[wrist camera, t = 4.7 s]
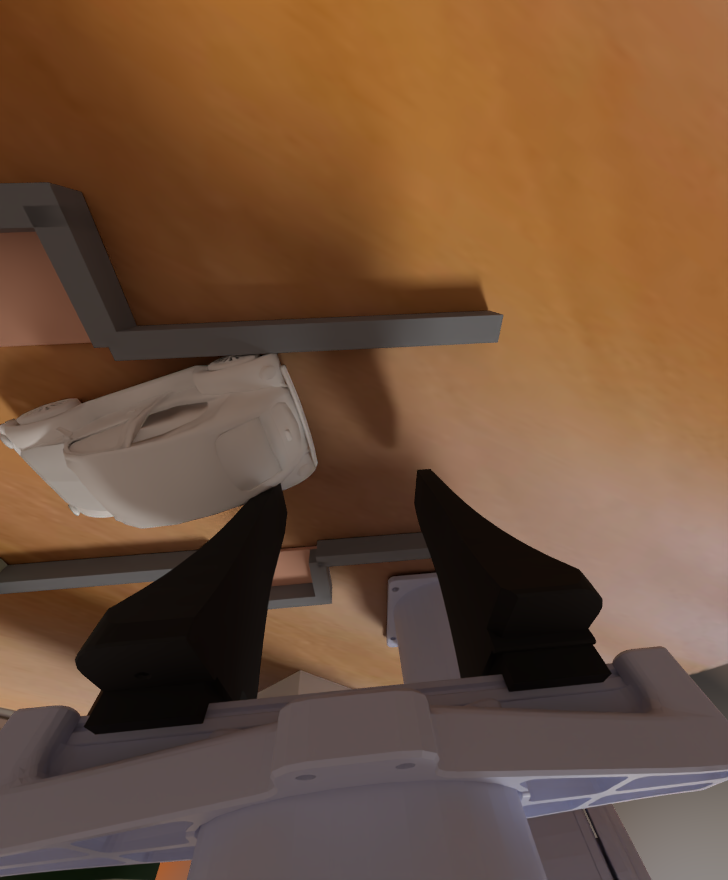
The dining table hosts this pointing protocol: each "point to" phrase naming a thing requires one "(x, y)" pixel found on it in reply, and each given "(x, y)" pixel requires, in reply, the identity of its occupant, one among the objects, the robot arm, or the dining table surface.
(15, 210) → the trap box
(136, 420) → the car
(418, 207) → the dining table surface
